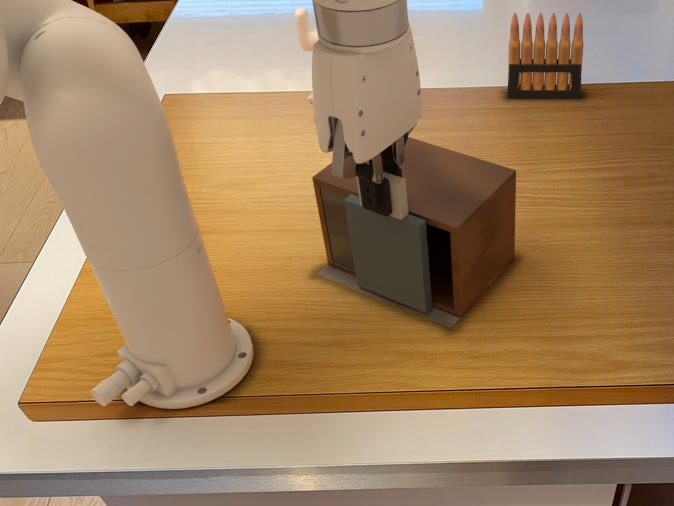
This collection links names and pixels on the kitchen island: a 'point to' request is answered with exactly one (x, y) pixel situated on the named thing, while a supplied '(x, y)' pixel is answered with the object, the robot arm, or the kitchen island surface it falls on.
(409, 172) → the cabinet
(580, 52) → the ammunition clip
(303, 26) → the figurine
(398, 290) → the grey sliding door
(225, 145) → the kitchen island surface
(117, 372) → the robot arm
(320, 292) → the kitchen island surface
